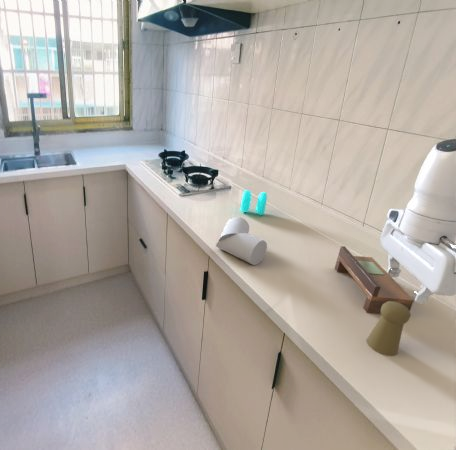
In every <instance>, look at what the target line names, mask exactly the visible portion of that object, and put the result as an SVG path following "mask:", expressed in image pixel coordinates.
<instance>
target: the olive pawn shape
mask: <svg viewBox="0 0 456 450" xmlns="http://www.w3.org/2000/svg"><path fill="white" fill-rule="evenodd" d="M410 317H411V311H409V309H408V308H407V307H405V306H404V305H402V304H400V303H397V302H392V301H389V302H386V303H384V304H383V305H382V307H381V314H380V317H379V318H378V320H377V322H376V323H375V325H374V326H373V328H372V330H371V332H370V334H369V335H368V336H367V338H366V344H367V345H368V346H369V348H371V349H372V350H373V351H375V352H377V353H379V354H381V355H383V356H387V357H388V356H389V357H390V356H391V357H392V356H396V355H397V354H398V352H399V349H400V343H401V340H402V339H401V338H402V333H403V329H404V324H407V323H408V321H410Z"/></svg>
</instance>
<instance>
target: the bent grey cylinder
mask: <svg viewBox="0 0 456 450" xmlns="http://www.w3.org/2000/svg"><path fill="white" fill-rule="evenodd" d="M249 232H250V224H249V222H248V221H247V220H246V218H243V217H241V216H234V217H231V218H229V219H228V220H227V222H226V224H225V226H224V228H223V229H222V232H221V234H220V236H219V239H218V241H217V242H216V244H215V247H216V248H217V249H219V250H222V251H224V252H226V253H228V254H230V255H232V256H234V257H236V258H238V259H240V260H242V261H243V262H246V263H248V264H250V265H252V266H257V265H259V264H260V263H261V262H262V261H263V259H264V258H265V256H266V253H267V249H268V243H267V241H266V240H264V239H261V238H259V237H257V236H255V235H253V234H250V233H249Z"/></svg>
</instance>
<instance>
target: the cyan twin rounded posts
mask: <svg viewBox="0 0 456 450" xmlns="http://www.w3.org/2000/svg"><path fill="white" fill-rule="evenodd" d="M267 200H268V194H267V192H265V191H262V192H260V193H259V194H258V197H257V201H256V207H255V212H256V214H257V215H258V216H263V215H264V214H265V212H266V206H267ZM251 201H252V193H251V191H250V190H249V189H245V190H244V191H243V193H242V197H241V203H240V211H242V212H241V213H243V212H246V213H248V212H249V210H250V207H251Z"/></svg>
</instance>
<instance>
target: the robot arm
mask: <svg viewBox="0 0 456 450" xmlns="http://www.w3.org/2000/svg"><path fill="white" fill-rule="evenodd" d="M413 187H414V189H413V190H414V191H413V195H412V197H411V199H410V200H409V201H408V203H407V205H406V207H405V208H389V209H388V211H387V214H386V218H387V220H386V222H385V223H384V226H383V229H382V231H381V235H380V239H379V241H380V247H381V248H382V249H383V250H384V251H385V252H386V253H388V256H387V263H388V268H387V270H386V272H387V273H388V274H389V275H390V276H391V277H392V278H398V277H399V276H400V273H401V269H400V265H401V266H402V267H403V268H404V269H406V271H408V272H409V273H410V274H411V275H412V276H413V277H414V278H415V279H417V280H418V281H419V282H420V283H421V284H420V285H419V286H420V288H421V289H420V290H419V291H417V290H414V291H413V293H412V296H411V298H412V299H413V300H414V302H415V303H416V304H422V305H423V304H426V303H427V301H428V298H429V297H431V296H433V295H437V296H448V297H449V296H450V297H452V296H455V295H456V243H455V242H456V138H451V139H445V140H442V141H439V142H437V143H435V144H434V146H433V147H432V148H431V149H430V151H429V152H428V154H427V155H426V157H425V159H424V160H423V163H422V165H421V167H420V170H419V172H418V174H417V176H416V180H415V182H414V186H413Z"/></svg>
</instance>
